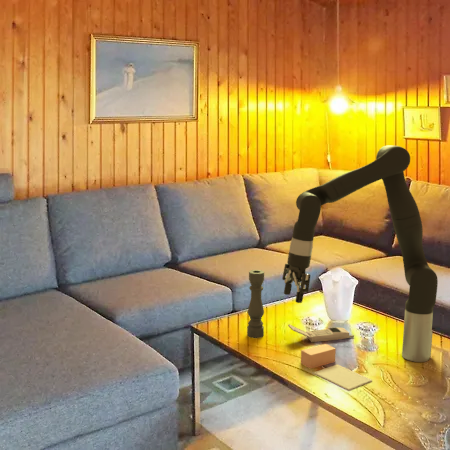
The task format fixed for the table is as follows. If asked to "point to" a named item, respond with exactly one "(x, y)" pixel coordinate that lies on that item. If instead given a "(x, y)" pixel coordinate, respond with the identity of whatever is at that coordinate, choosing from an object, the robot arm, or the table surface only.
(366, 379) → the beige flat plate
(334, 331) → the mobile phone
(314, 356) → the card box
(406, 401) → the table surface
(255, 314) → the candle holder
